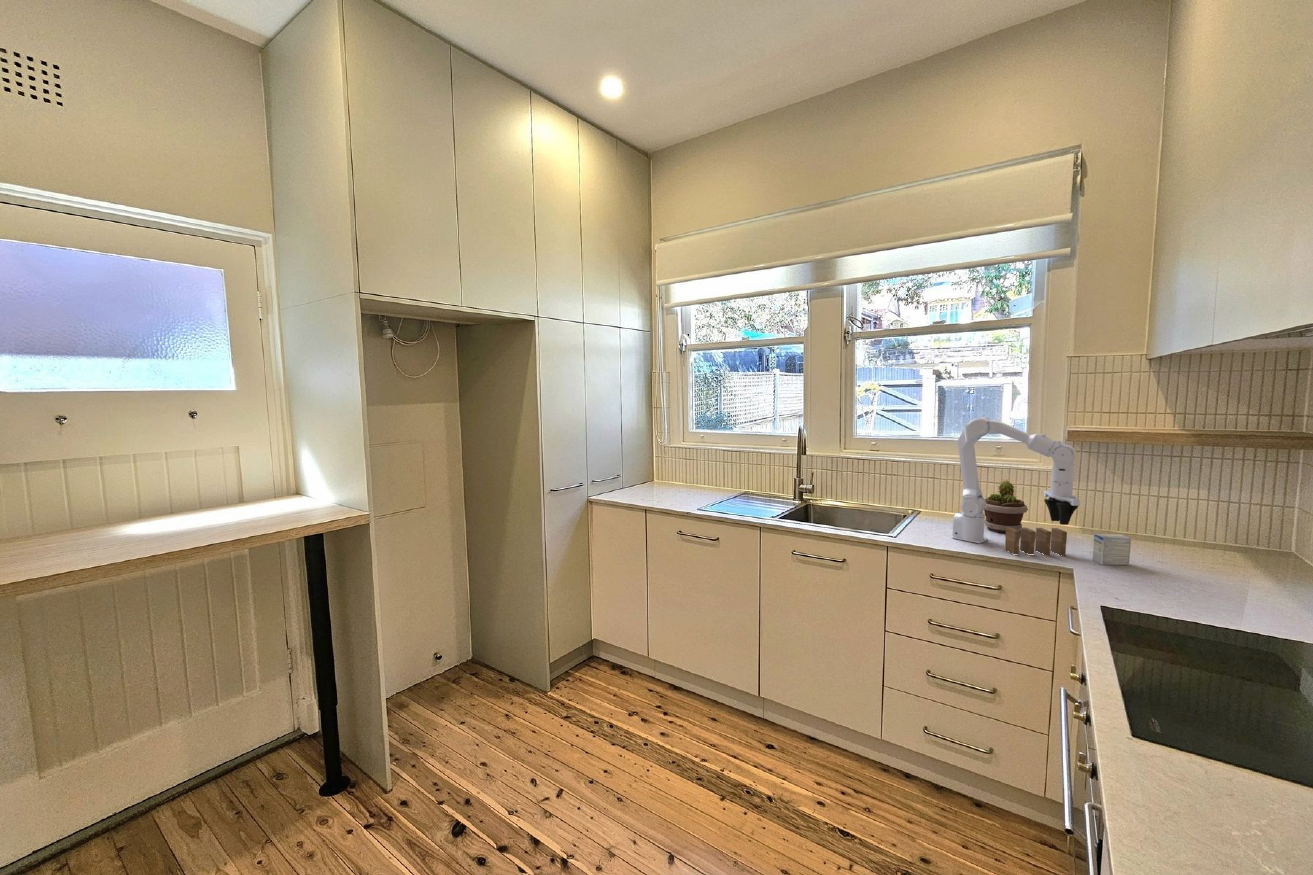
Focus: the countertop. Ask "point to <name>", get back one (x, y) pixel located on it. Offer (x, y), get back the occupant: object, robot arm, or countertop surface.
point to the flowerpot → (1004, 509)
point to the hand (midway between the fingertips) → (1059, 522)
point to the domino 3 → (1043, 541)
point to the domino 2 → (1027, 540)
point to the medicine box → (1111, 549)
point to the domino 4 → (1058, 541)
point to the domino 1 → (1012, 540)
